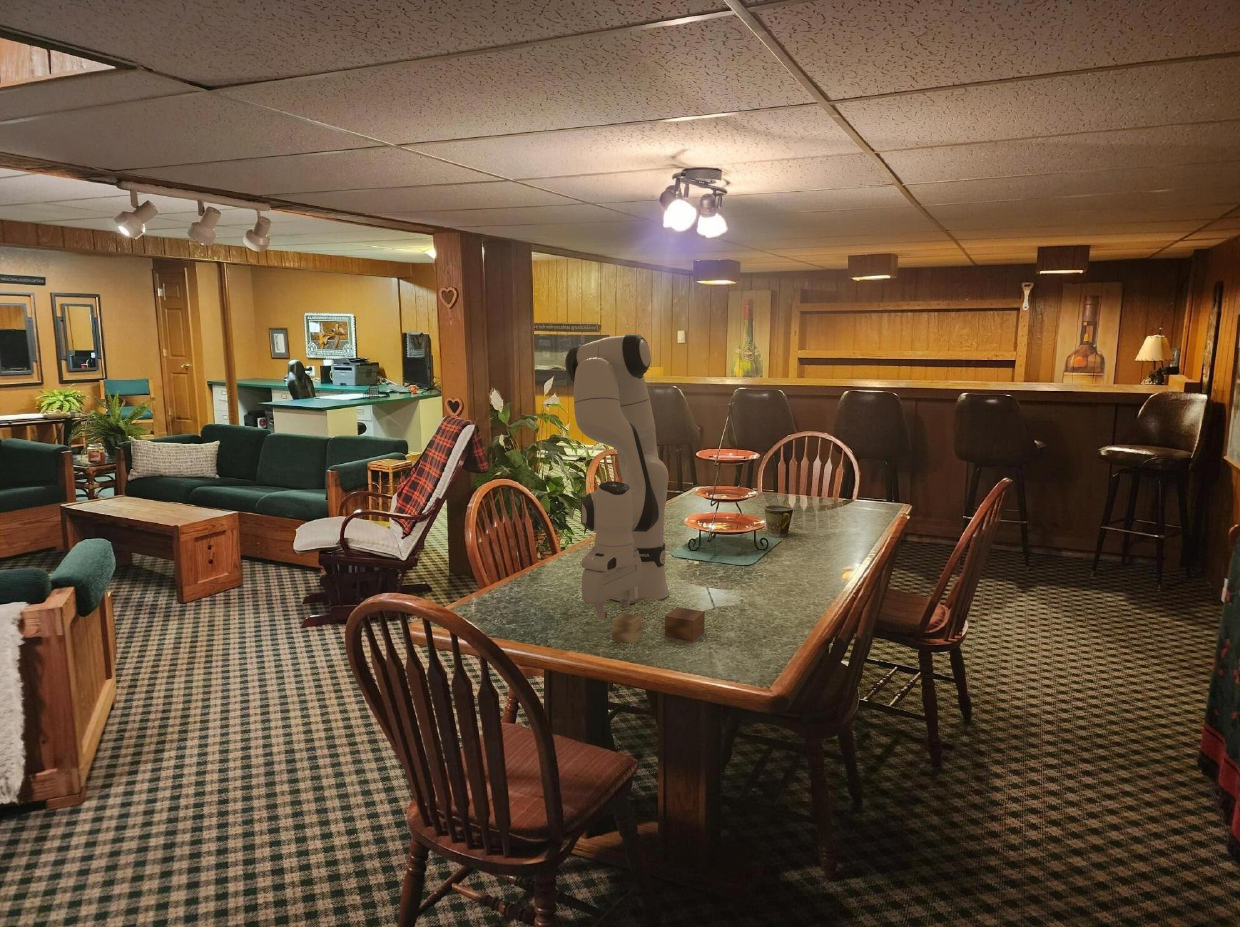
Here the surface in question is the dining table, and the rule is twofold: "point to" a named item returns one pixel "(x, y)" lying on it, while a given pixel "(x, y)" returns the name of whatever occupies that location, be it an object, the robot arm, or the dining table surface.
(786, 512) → the ceramic cup
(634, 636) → the maple block
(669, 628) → the walnut block
